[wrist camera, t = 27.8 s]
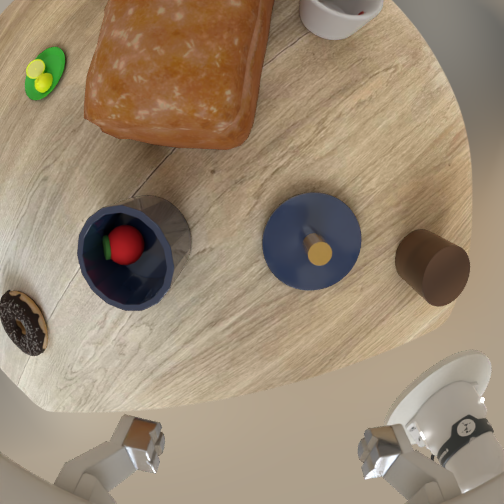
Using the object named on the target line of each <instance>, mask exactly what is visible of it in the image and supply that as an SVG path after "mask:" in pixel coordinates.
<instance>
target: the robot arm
mask: <svg viewBox="0 0 504 504" xmlns="http://www.w3.org/2000/svg"><path fill="white" fill-rule="evenodd" d="M478 387H479V384H478V383H477V382H471V383H469V382H467V381H457V382H454V383H451V384H449V385H447V386H445V387H444V388H442V389H441V390H439V391H438V392H436V393H435V394H434V395H433V396H431V397H430V398H429V399H428V400H427V401H426V402H425V403H424V404H423V405H422V406H421V408H420V409H419V410H418V412H417V414H416V415H415V416H414V417H413V418H412V419H411V420H410V421H409V422H408V423H407V424H406V425H405V428H406V429H407V431H408V432H409V433H410V435H411V436H412V437H413V439H414V440H415V441H416V443H417V444H418V446H419V447H423V446H426V448H427V449H430V451H431V452H432V455H431V459H429V458H428V457H426V456H425V455H423V454H422V453H420V452H419V451H417V450H415V451H414V450H413V448H412V446H411V443H410V441H409V439H408V437H407V434H406V432H405V430H404V428H403V425H402V424H394V425H387V426H382V427H375V428H368V429H367V430H366V431H365V433H364V436H365V437H364V438H363V439H361V441H360V443H359V445H358V456H359V460H361V461H362V462H363V463H364V464H363V466H362V471H363V475H364V479H370V478H376V477H381V476H383V478H384V479H385V480H386V481H387V482H388V483H390V485H392V486H393V487H394V488H395V489H396V490H397V491H398V492H399V493H400V494H402V495H403V496H404V497H405V498H406V499H407V500H408V501H407V502H406V503H405V504H504V449H503V447H502V446H501V445H500V443H499V442H498V441H497V439H496V437H495V436H494V434H493V432H494V431H493V428H492V426H491V424H490V423H489V422H488V420H487V419H486V418H485V416H486V413H487V408H486V406H485V404H484V403H483V402H484V398H483V397H482V398H480V396H479V394H478V393H477V390H478ZM161 428H162V427H161V424H160V422H155V421H151V420H147V419H142V418H138V417H134V416H130V415H126V414H125V415H123V416H122V417H121V419H120V421H119V423H118V425H117V427H116V429H115V432H114V433H113V435H112V437H111V440H110V442H107V441H106V442H104V443H102V444H100V445H99V446H97V447H95V448H93V449H91V450H89V451H87V452H85V453H83V454H82V455H80V456H78V457H76V458H74V459H72V460H70V461H68V462H66V463H65V464H64V466H63V468H62V470H61V471H60V473H59V475H58V477H57V479H56V481H55V483H54V484H51V483H50V482H48V481H46V480H44V479H42V478H40V477H39V476H37V475H35V474H33V473H32V472H30V471H28V470H27V469H25V468H23V467H22V466H20V465H19V464H17V463H16V462H14V461H13V460H11V459H10V458H8V457H7V456H5V455H4V454H2V453H1V452H0V504H116V501H115V500H114V499H113V497H112V496H111V495H110V494H109V493H108V492H109V491H110V490H112V489H113V488H114V487H116V486H117V485H118V484H120V483H121V482H122V481H124V480H125V479H126V478H128V477H129V476H130V475H131V474H132V473H134V472H135V471H136V469H137V470H141V471H145V472H150V473H155V474H156V472H157V469H158V466H159V463H160V461H159V458H158V456H159V455H161V454H162V453H163V450H164V444H165V438H164V434H163V433H162V432H161ZM434 456H437V458H438V460H439V462H440V464H441V465H442V466H441V465H439V464H437V463H436V462H434Z"/></svg>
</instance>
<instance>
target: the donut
mask: <svg viewBox="0 0 504 504" xmlns="http://www.w3.org/2000/svg"><path fill="white" fill-rule="evenodd" d="M0 319H1V322H2V325H3V327H4V330H5V332H6V333H7V334H8V336H9V337H10V339H11V340H12V341H13V343H14V344H15V345H17V347H18V348H19V349H21V350H22V351H23V352H24V353H25V354H28V355H31V356H37V355H39V354H41V353H43V352H44V351H45V348H46V347H47V343H48V335H47V327H46V324H45V320H44V318H43V316H42V314H41V311H40V309H39V308H38V307H37V305H36V304H35V303H34V301H33V300H32V299H30V298H29V297H28V296H27V295H25V294H24V293H21V292H18V291H11V290H8V291H7V292H6V293H5V294H4V295H3V296H2V297H1V301H0ZM21 322H22V323H21ZM22 324H23V325H22Z"/></svg>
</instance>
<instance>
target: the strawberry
mask: <svg viewBox="0 0 504 504" xmlns="http://www.w3.org/2000/svg"><path fill="white" fill-rule="evenodd" d="M103 251H104V256H105V259H106V260H109V259H112V260H113V261H114V262H115V263H117V264H120V265H130V264H133V263H135V262H136V261H137V260H138V259H139V258H140V257H141V255H142V253H143V251H144V239H143V236H142V234H141V233H140V232H139V231H138V230H137V229H136V228H135V227H133V226H130V225H120V226H118V227H116V228H114V229H113V230H112V231H111V232H110V233H109V235H108V236H107V235H106V236H103Z"/></svg>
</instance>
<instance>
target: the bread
mask: <svg viewBox="0 0 504 504" xmlns="http://www.w3.org/2000/svg"><path fill="white" fill-rule="evenodd" d="M273 4H274V0H108V3H107V5H106V7H105V9H104V18H103V22H102V26H101V30H100V34H99V38H98V43H97V47H96V50H95V53H94V55H93V58H92V61H91V64H90V67H89V71H88V74H87V79H86V89H85V102H84V118H85V119H87V120H88V121H90V122H92V123H94V124H96V125H97V126H99V127H100V128H101V130H102V132H104V133H107V134H109V135H111V136H114V137H116V138H118V139H132V140H136V141H141V142H145V143H149V144H153V145H161V146H168V147H176V148H201V149H221V150H227V149H231V148H234V147H237V146H240V145H242V144H243V142H244V141H245V140H246V139H247V138H248V137H249V134H250V131H251V128H252V126H253V123H254V117H255V111H256V105H257V100H258V94H259V87H260V78H261V73H262V67H263V62H264V57H265V51H266V46H267V41H268V36H269V29H270V21H271V14H272V9H273Z"/></svg>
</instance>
